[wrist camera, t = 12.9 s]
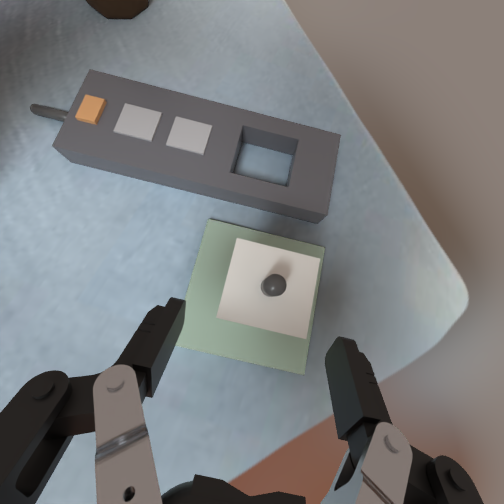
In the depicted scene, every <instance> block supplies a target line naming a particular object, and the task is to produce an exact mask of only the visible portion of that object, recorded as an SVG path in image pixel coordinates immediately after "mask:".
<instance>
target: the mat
mask: <svg viewBox="0 0 504 504" xmlns="http://www.w3.org/2000/svg"><path fill="white" fill-rule="evenodd" d="M237 238H239V239H244V240H248V241H252V242H256V243H260V244H264V245H268V246H272V247H276V248H280V249H284V250H288V251H292V252H296V253H300V254H304V255H308V256H312V257H316V258H320V263H319V269H318V274H317V280H316V286H315V292H314V298H313V303H312V309H311V315H310V321H309V327H308V333H307V338H306V339H303V338H299V337H294V336H290V335H286V334H282V333H278V332H273V331H269V330H265V329H261V328H257V327H253V326H248V325H244V324H240V323H236V322H232V321H227V320H223V319H219V318H216V316H217V312H218V308H219V304H220V301H221V297H222V293H223V289H224V285H225V281H226V278H227V274H228V270H229V266H230V262H231V258H232V255H233V251H234V247H235V243H236V239H237ZM324 251H325V247H321V246H317V245H313V244H309V243H305V242H301V241H297V240H293V239H289V238H285V237H281V236H276V235H272V234H268V233H264V232H260V231H256V230H252V229H248V228H244V227H240V226H236V225H232V224H228V223H224V222H220V221H216V220H212V219H208V221H207V224H206V228H205V231H204V235H203V238H202V241H201V245H200V248H199V252H198V255H197V259H196V262H195V265H194V269H193V272H192V276H191V279H190V283H189V286H188V290H187V293H186V296H185V300H186V309H185V320H184V325H183V328H182V331H181V333H180V336H179V338H178V340H177V343H176V345H175V346H179V347H183V348H188V349H192V350H196V351H201V352H205V353H209V354H214V355H218V356H222V357H227V358H231V359H235V360H240V361H244V362H248V363H253V364H257V365H261V366H266V367H270V368H275V369H279V370H283V371H288V372H292V373H296V374H301V375H304V373H305V367H306V361H307V354H308V348H309V342H310V336H311V330H312V324H313V318H314V312H315V306H316V300H317V294H318V288H319V282H320V276H321V269H322V263H323V257H324Z"/></svg>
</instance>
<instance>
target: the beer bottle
mask: <svg viewBox="0 0 504 504" xmlns="http://www.w3.org/2000/svg"><path fill="white" fill-rule="evenodd" d="M86 1H87V3H88V4H89V5H90V6H91V7H93V8H94V9H95V10H97V11H98V12H99V13H101V14H102V15H103V16H105V17H106V18H107V19H132V18H133V17H135V16H136V15H138V14H139V13H140V12H142V11H143V10H144V9H146V8H147V7H148V0H86Z"/></svg>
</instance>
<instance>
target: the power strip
mask: <svg viewBox="0 0 504 504" xmlns="http://www.w3.org/2000/svg"><path fill="white" fill-rule="evenodd" d="M30 109H31V111H32V112H33V113H34V114H36V115H39V116H43V117H47V118H51V119H55V120H59V121H63V122H64V123H63V125H62V127H61V129H60V131H59V133H58V135H57V137H56V139H55V141H54V143H53V145H52V146H53V147H54V148H55V149H56V150H57V151H58V152H60V153H61V154H62V155H63V156H64V157H65V158H67V159H68V160H69V161H70V162H72V163H76V164H80V165H84V166H88V167H92V168H96V169H100V170H104V171H108V172H112V173H116V174H120V175H124V176H128V177H132V178H136V179H140V180H144V181H148V182H152V183H156V184H160V185H164V186H168V187H172V188H176V189H181V190H185V191H189V192H193V193H197V194H201V195H205V196H209V197H213V198H217V199H221V200H225V201H229V202H233V203H237V204H241V205H245V206H249V207H253V208H257V209H261V210H265V211H269V212H273V213H277V214H281V215H285V216H289V217H293V218H297V219H301V220H305V221H309V222H313V223H317V224H318V223H319V222H320V221H321V220H322V219H323V218H325V217H326V216H327V214H328V208H329V202H330V196H331V190H332V184H333V178H334V172H335V166H336V160H337V154H338V148H339V142H340V136H341V135H340V134H336V133H332V132H328V131H324V130H320V129H317V128H313V127H309V126H305V125H301V124H297V123H294V122H290V121H286V120H282V119H278V118H274V117H271V116H267V115H263V114H259V113H255V112H251V111H248V110H244V109H240V108H236V107H232V106H228V105H224V104H221V103H217V102H213V101H209V100H205V99H201V98H198V97H194V96H190V95H186V94H182V93H178V92H175V91H171V90H167V89H163V88H159V87H155V86H152V85H148V84H144V83H140V82H136V81H132V80H129V79H125V78H121V77H117V76H113V75H109V74H106V73H102V72H98V71H94V70H89V72H88V74H87V76H86V78H85V80H84V82H83V84H82V86H81V88H80V90H79V92H78V94H77V96H76V98H75V100H74V102H73V104H72V106H71V108H70V110H69V112H65V111H61V110H57V109H53V108H49V107H46V106H42V105H38V104H32V105H31V106H30ZM242 142H244V143H248V144H252V145H256V146H260V147H264V148H267V149H271V150H275V151H279V152H283V153H287V154H291V155H293V156H292V161H291V165H290V170H289V174H288V179H287V184H286V187H285V186H281V185H277V184H273V183H270V182H266V181H262V180H258V179H254V178H250V177H246V176H242V175H238V174H234V173H233V172H234V168H235V165H236V161H237V158H238V154H239V150H240V147H241V143H242Z"/></svg>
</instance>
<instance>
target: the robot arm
mask: <svg viewBox="0 0 504 504" xmlns="http://www.w3.org/2000/svg"><path fill="white" fill-rule="evenodd" d="M185 309H186V300H182V299H177V298H173V297H171V298H170V299H169V301H168V302H167V304H166V306H165V307H163V306H159V305H157V306H156V307H154V308H153V309H152V310H150V311H149V312H148V313H147V315H146V316H145V318H144V320H143V321H142V323H141V324H140V326H139V327H138V329H137V331H136V332H135V334H134V335H133V337H132V338H131V340H130V341H129V343H128V344H127V346H126V348H125V349H124V351H123V352H122V354H121V355H120V357H119V359H118V360H117V361H116V362H115V363H114V365H112V366H111V367H110V368H108V369H106V370H105V371H103V372H101V373H99V374H95V375H89V376H81V377H72V378H68V376H67V375H66V374H65V373H64V372H62V371H48V372H44V373H41V374H39V375H37V376H35V377H34V378H32V379H31V380H29V381H28V382H27V383H26V384H25V385H24V386H23V387H22V388H21V389H20V390H19V392H18V393H17V394H16V395H15V396H14V397H13V399H12V400H11V401H10V402H9V403H8V405H7V406H6V407H5V408H4V409H3V410H2V412H1V413H0V504H35V503H36V501H37V500H38V498H39V496H40V494H41V493H42V491H43V489H44V487H45V486H46V484H47V482H48V480H49V479H50V477H51V475H52V473H53V472H54V470H55V468H56V466H57V465H58V463H59V461H60V459H61V458H62V456H63V454H64V452H65V451H66V449H67V447H68V445H69V444H70V442H71V440H72V438H73V436H74V435H78V434H84V433H89V432H95V431H96V455H95V474H96V492H97V504H306V500H305V497H303V496H297V495H293V494H288V493H283V492H273V493H268V494H262V495H257V496H248V495H246V494H244V493H243V492H241V491H240V490H238V489H236V488H235V487H233V486H231V485H230V484H228V483H227V482H225V481H223V480H220V479H216V478H211V477H206V476H201V475H196V474H195V476H194V479H193V481H190V482H185V483H182V484H179V485H177V486H175V487H173V488H172V489H170V490H169V491H167V492H166V493H164V494H163V495H162V496H161V494H160V489H159V484H158V479H157V474H156V469H155V464H154V459H153V454H152V449H151V444H150V439H149V435H148V430H147V428H146V424H145V419H144V414H143V409H142V403H143V401H144V399H145V397H151V398H152V397H153V395H154V393H155V390H156V388H157V386H158V384H159V381H160V379H161V377H162V374H163V372H164V370H165V368H166V365H167V363H168V361H169V358H170V356H171V354H172V352H173V349H174V347H175V345H176V343H177V340H178V338H179V336H180V333H181V331H182V328H183V325H184V320H185ZM325 367H326V373H327V378H328V384H329V390H330V395H331V401H332V406H333V412H334V417H335V423H336V428H337V434H338V439H341V440H345V441H348V445H349V449H348V450H347V451H346V454H345V456H344V458H343V461H342V463H341V465H340V467H339V470H338V472H337V474H336V477H335V479H334V481H333V483H332V486H331V488H330V490H329V492H328V494H327V495H326V496H325V498H324V499H323V500H322V502H321V504H484V503H483V502H482V499H481V497H480V495H479V493H478V491H477V489H476V487H475V485H474V483H473V481H472V480H471V478H470V476H469V475H468V474H467V472H466V471H465V470H464V469H463V468H462V467H461V466H460V465H459V464H458V463H457V462H456V461H454V460H453V459H451V458H449V457H447V456H443V455H442V456H438V457H436V458H435V459H433V458H431V457H430V456H428V455H426V454H424V453H423V452H421V451H419V450H418V449H416V448H414V447H413V446H411V445H410V444H409V443H408V441H407V439H406V438H405V436H404V435H403V434H402V432H401V431H400V430H399V429H398V428H396V427H395V426H393V424H392V422H391V420H390V417H389V414H388V411H387V408H386V406H385V403H384V400H383V397H382V394H381V392H380V389H379V387H378V385H377V384H378V383H377V381H376V378H375V377H374V372H373V369H372V367H371V364H370V362H369V361H368V359H367V358H366V356H365V355H364V354H363V353H361V352H359V350H358V347H357V344H356V342H355V341H354V340H352V339H348V338H344V337H337V338H336V340H335V341H334V343H333V344H332V346H331V347H330V349H329V350H328V352H327V354H326V357H325Z"/></svg>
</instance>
